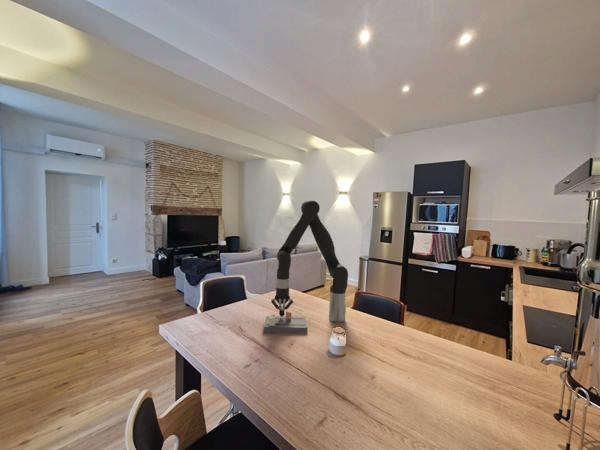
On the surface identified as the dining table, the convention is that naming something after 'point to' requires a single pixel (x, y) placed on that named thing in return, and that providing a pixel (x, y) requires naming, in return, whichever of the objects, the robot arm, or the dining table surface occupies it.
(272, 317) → the cream fader
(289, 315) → the terracotta fader
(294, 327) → the fader console
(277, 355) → the dining table surface
